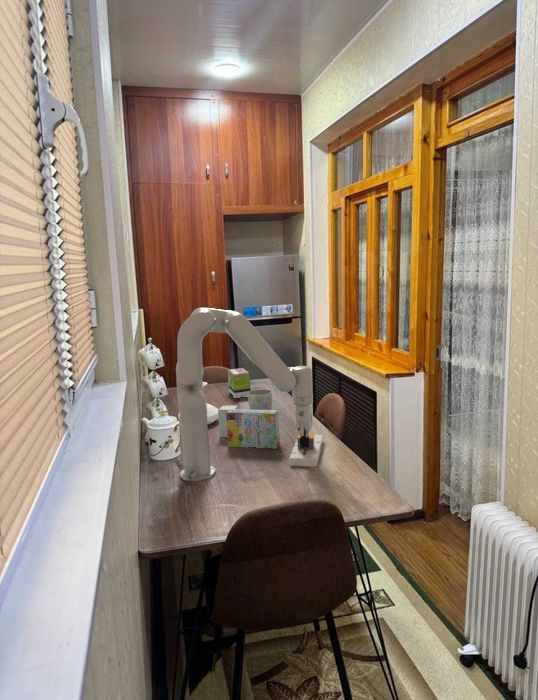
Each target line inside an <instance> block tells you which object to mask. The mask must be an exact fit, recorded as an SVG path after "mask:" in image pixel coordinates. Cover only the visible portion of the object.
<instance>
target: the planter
mask: <svg viewBox="0 0 538 700" xmlns="http://www.w3.org/2000/svg"><path fill="white" fill-rule="evenodd" d="M247 400H248V408H249V409H248V410H273V391H272V389H267V388H258V389H257V388H256V389H251V391H249V392H248V397H247Z"/></svg>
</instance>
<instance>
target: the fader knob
mask: <svg viewBox="0 0 538 700" xmlns="http://www.w3.org/2000/svg"><path fill="white" fill-rule="evenodd" d="M314 435H315V434H311V433H310V434H309V433H308V436H309V447H308V448H301V447H300V433H299V434H297V437H296V440H297V441H298V449H314Z"/></svg>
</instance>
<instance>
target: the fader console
mask: <svg viewBox="0 0 538 700" xmlns="http://www.w3.org/2000/svg"><path fill="white" fill-rule="evenodd" d="M323 443H324V435H323V434H314V449H298V441H297V439H296V441H295V443H294V446H293V448H292V451H291V453H290V456H289V466H290V467H318V464H319V459H320V457H321V451H322V447H323Z"/></svg>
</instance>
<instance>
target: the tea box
mask: <svg viewBox="0 0 538 700" xmlns="http://www.w3.org/2000/svg"><path fill="white" fill-rule="evenodd" d="M250 376H251V375H250V372H249V371H248V370H246V369H245V368H243V367H241V368H240V367H239V368H233V369H232V368H231V369H227V378H228V379H227V380H228V393H229V392H230V393H231V394H232V395H233V396H232V395H231V394H230V393H229V394H230V395H231V396H232V398H233V399H235V398H238V397H246V396H248V392H249V391H251V390H252V388H251V378H250Z"/></svg>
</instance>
